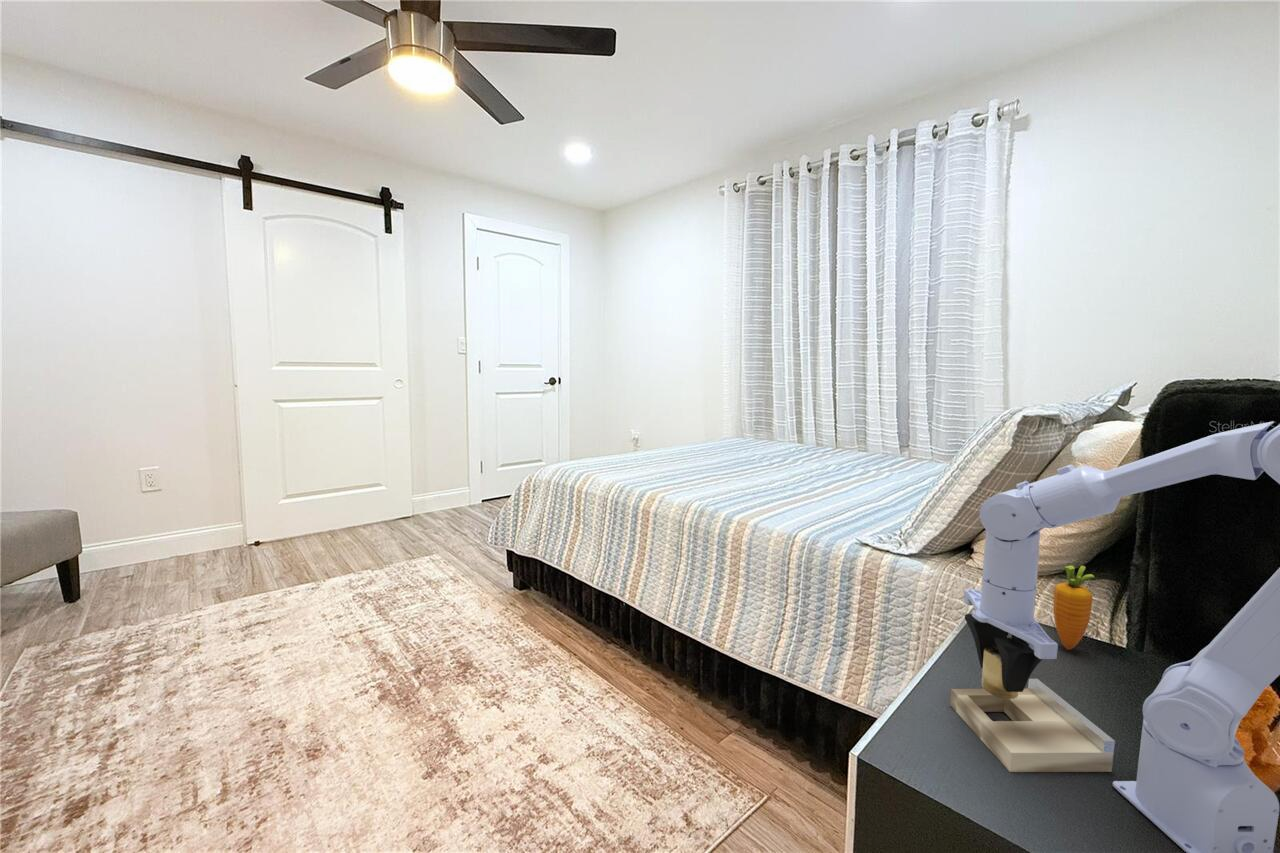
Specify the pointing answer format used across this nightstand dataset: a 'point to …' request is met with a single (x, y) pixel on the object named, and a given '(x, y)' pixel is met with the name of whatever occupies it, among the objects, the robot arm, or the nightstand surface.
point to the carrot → (1072, 607)
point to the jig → (1036, 731)
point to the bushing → (994, 674)
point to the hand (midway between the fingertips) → (1001, 679)
